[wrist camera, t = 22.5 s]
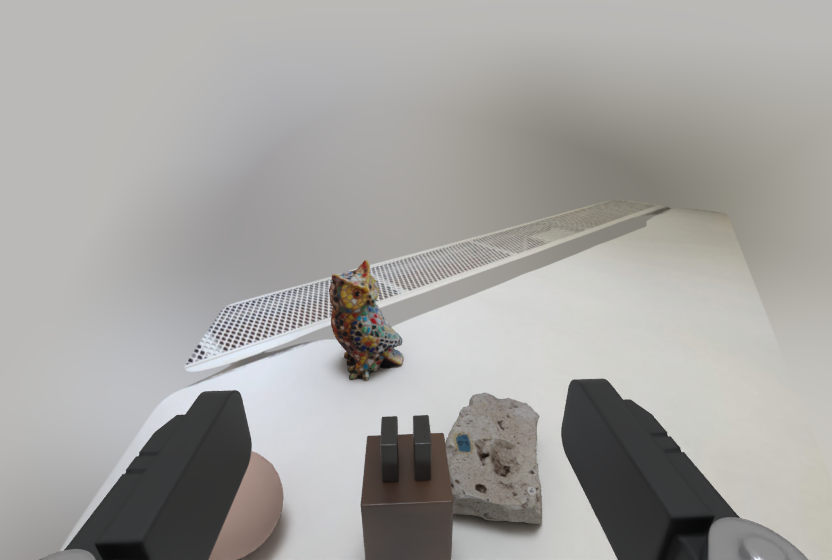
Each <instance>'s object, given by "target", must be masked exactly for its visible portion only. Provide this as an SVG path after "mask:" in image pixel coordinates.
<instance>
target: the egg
mask: <svg viewBox="0 0 832 560" xmlns="http://www.w3.org/2000/svg"><path fill="white" fill-rule="evenodd" d="M282 505H283V489H282V484H281V481H280V478H279V475H278V473H277V471H276V470H275V468H274V467H273V465H272V464H271V463H270V462H269V461H267V460H266V459H265V458H264V457H262V456H261V455H259V454H257V453H255V452H252V451H251V457H250V462H249V465H248V468H247V470H246V473H245V475H244V477H243V480H242V482H241V485H240V487H239V489H238V492H237V494H236V496H235V499H234V501H233V503H232V506H231V508H230V510H229V513H228V515H227V517H226V520H225V522H224V524H223V527H222V529H221V532H220V534H219V536H218V539H217V541H216V543H215V546H214V548H213V550H212V553H211V555H210V557H209V560H237V559H239V558H242V557H244V556H246V555H248V554H250V553H251V552H253V551H255V550H256V549H257V548H258V547H260V546H261V545H262V544H263V543H264V542H265V541H266V540H267V538H268V537H269V536H270V534H271V533H272V532H273V530H274V528H275V526H276V524H277V522H278V520H279V517H280V515H281V511H282Z"/></svg>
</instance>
